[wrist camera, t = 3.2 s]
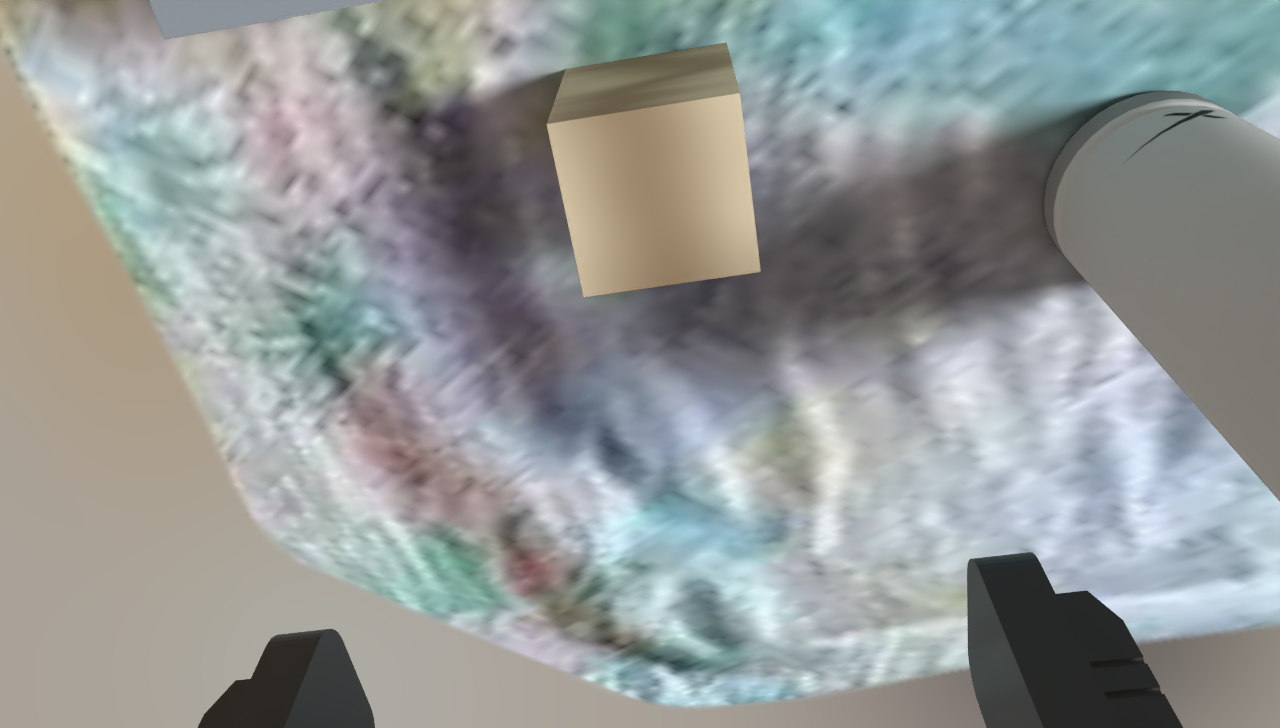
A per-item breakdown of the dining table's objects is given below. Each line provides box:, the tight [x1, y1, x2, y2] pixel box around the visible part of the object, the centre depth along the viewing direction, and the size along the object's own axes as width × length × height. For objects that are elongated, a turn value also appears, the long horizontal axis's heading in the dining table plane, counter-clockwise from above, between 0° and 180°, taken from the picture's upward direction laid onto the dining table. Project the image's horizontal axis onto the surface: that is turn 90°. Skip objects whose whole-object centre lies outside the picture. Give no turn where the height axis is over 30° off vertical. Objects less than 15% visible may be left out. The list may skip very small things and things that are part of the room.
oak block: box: [547, 43, 761, 297], centre depth 30 cm, size 5×5×6 cm
